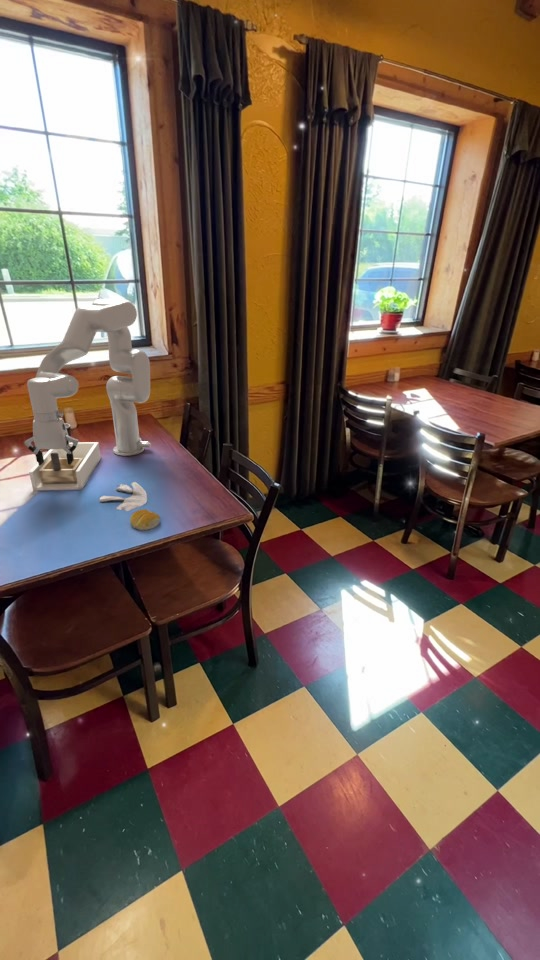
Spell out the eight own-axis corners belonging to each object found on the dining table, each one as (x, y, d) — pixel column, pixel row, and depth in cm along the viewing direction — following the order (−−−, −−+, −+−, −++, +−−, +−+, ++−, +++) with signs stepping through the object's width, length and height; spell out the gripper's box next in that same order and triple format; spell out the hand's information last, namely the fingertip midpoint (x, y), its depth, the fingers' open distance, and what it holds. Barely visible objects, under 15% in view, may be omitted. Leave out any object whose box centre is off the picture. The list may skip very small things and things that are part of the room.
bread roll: (144, 514, 142) (143, 503, 140) (164, 522, 138) (163, 511, 136) (124, 525, 135) (122, 513, 134) (144, 534, 131) (143, 522, 129)
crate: (85, 469, 166) (80, 442, 162) (76, 483, 156) (71, 454, 151) (52, 470, 165) (46, 443, 160) (40, 484, 155) (34, 455, 150)
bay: (100, 458, 180) (98, 442, 177) (82, 489, 155) (79, 471, 152) (59, 458, 178) (55, 442, 175) (33, 490, 153) (29, 472, 150)
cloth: (131, 517, 141) (130, 510, 140) (76, 503, 147) (75, 497, 146) (166, 490, 158) (166, 484, 157) (115, 479, 165) (115, 473, 164)
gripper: (77, 412, 150) (84, 458, 158) (23, 412, 148) (33, 459, 156) (70, 419, 143) (79, 467, 151) (14, 419, 141) (25, 468, 149)
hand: (56, 463), depth 153 cm, fingers open, 9 cm apart
